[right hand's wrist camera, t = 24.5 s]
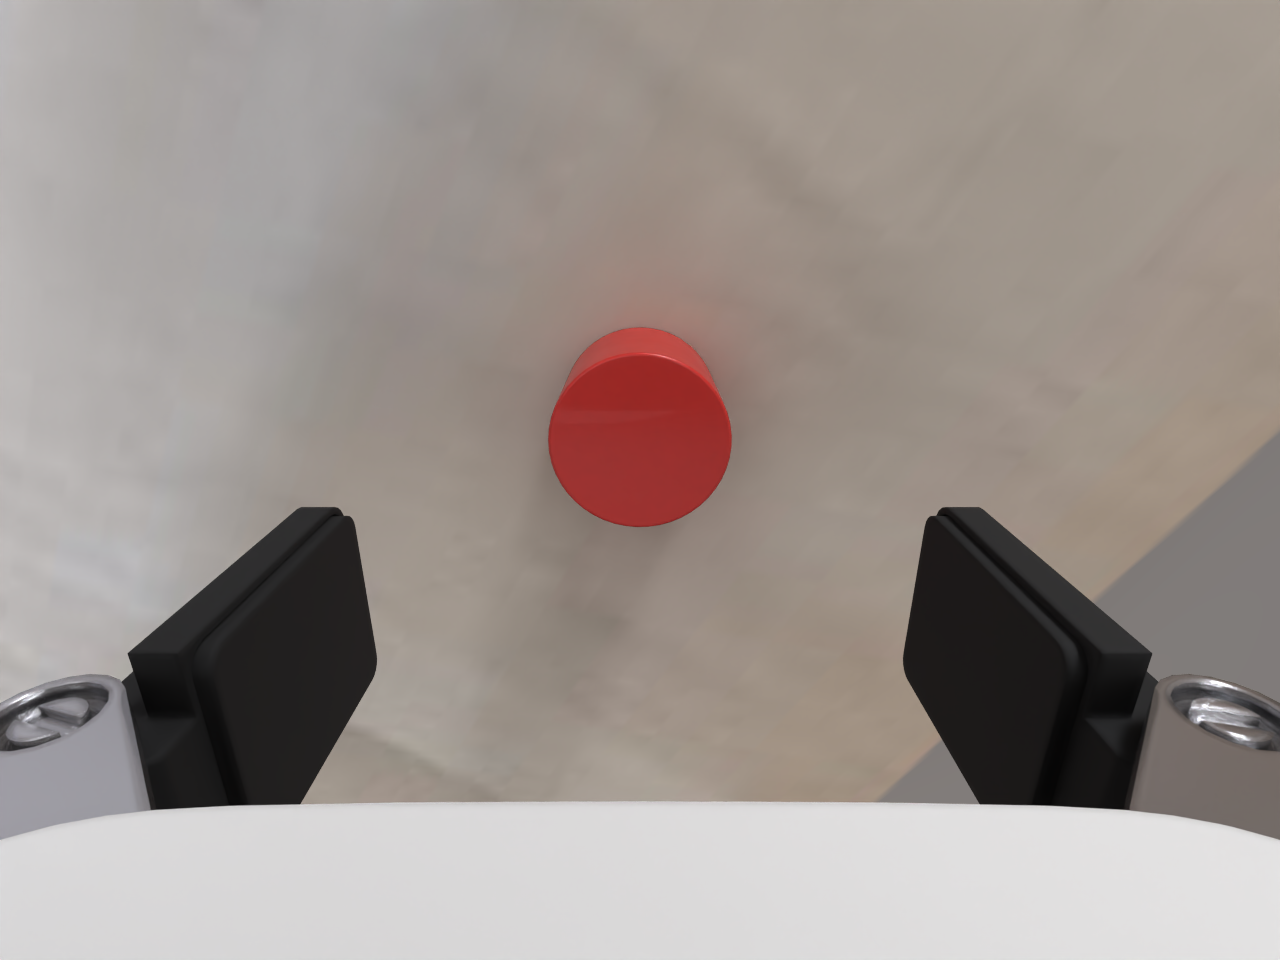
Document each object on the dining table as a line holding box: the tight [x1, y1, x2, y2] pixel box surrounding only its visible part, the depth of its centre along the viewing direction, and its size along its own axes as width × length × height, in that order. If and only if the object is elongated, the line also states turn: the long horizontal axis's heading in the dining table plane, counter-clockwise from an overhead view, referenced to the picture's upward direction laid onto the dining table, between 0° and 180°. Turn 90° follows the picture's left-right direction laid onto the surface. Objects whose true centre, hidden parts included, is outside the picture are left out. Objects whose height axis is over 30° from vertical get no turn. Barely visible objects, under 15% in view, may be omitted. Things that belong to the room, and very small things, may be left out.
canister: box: [548, 328, 732, 527], centre depth 20 cm, size 5×5×4 cm
